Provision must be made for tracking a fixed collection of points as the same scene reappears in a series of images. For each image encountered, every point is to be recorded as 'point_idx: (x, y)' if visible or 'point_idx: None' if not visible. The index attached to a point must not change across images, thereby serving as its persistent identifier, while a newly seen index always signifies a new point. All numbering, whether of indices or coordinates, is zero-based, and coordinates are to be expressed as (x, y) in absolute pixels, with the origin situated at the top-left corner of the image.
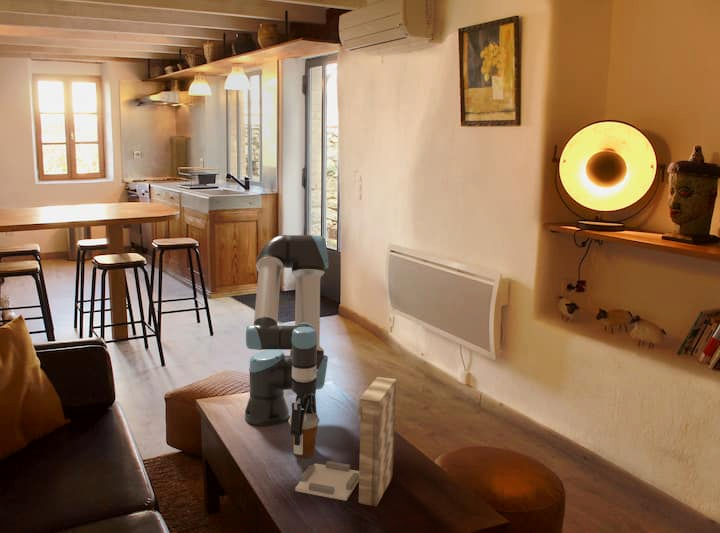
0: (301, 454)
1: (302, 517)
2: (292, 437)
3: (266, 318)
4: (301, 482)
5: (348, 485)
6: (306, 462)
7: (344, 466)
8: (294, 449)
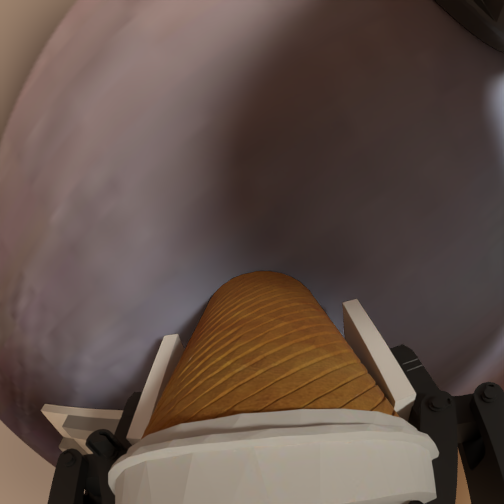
0: None
1: (22, 431)
2: (177, 365)
3: None
4: (65, 417)
5: None
6: None
7: None
8: (160, 355)
